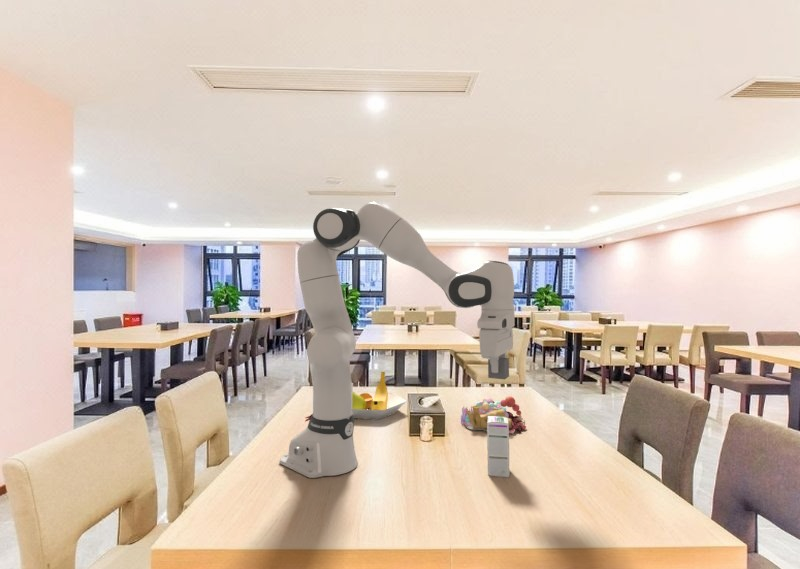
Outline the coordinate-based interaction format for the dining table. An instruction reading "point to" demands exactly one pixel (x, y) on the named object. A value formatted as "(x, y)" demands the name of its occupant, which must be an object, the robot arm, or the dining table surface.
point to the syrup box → (498, 446)
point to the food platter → (492, 414)
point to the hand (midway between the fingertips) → (498, 370)
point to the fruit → (375, 402)
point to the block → (500, 369)
